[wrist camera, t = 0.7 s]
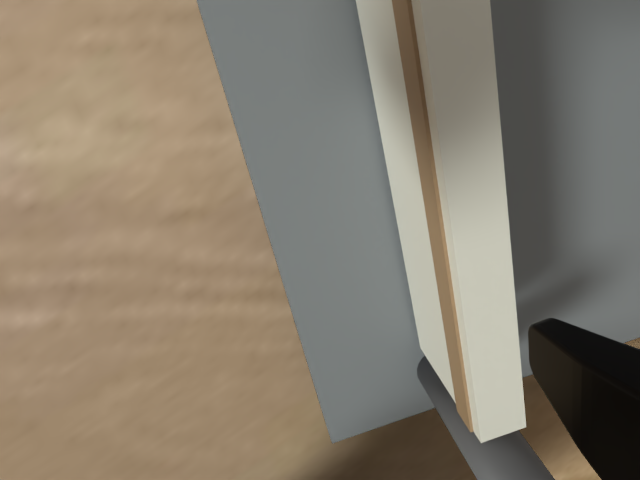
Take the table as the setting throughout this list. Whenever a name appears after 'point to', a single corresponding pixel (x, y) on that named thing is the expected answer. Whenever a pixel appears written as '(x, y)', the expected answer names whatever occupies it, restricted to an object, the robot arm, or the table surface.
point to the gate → (450, 196)
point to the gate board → (378, 208)
